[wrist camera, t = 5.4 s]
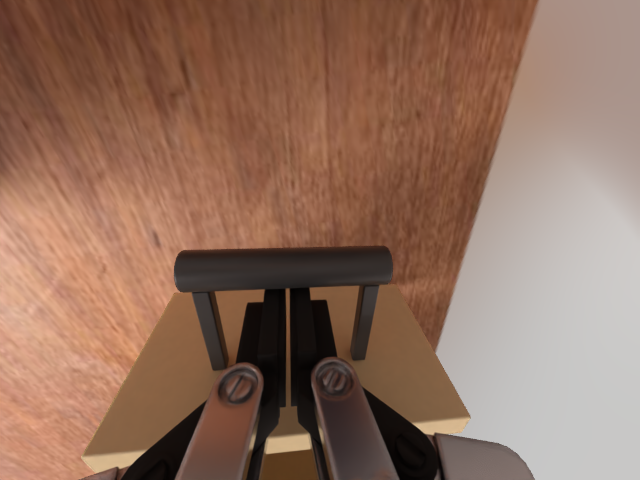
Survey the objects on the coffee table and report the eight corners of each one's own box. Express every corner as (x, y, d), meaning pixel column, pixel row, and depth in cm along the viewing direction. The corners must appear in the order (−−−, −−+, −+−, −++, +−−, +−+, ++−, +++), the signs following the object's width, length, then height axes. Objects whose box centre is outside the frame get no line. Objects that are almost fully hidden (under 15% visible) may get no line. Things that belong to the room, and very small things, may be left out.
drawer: (143, 199, 12) (-40, 335, 5) (416, 198, 13) (544, 304, 7) (217, 427, 23) (186, 570, 16) (365, 413, 24) (395, 538, 17)
